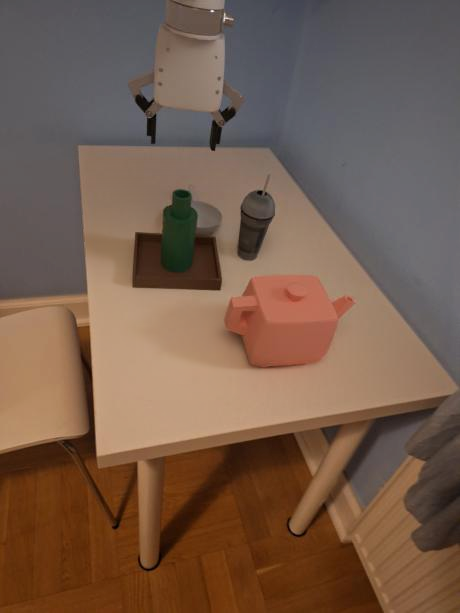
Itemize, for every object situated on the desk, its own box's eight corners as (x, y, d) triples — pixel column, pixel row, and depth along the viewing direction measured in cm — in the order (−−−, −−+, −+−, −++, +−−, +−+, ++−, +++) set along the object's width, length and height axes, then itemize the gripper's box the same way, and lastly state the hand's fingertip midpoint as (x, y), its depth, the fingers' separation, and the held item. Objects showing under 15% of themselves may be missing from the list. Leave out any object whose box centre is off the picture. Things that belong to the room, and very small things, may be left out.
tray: (132, 287, 78) (132, 276, 76) (135, 242, 88) (135, 231, 86) (220, 290, 81) (222, 280, 79) (213, 246, 91) (215, 236, 89)
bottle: (160, 272, 81) (164, 202, 70) (160, 252, 85) (164, 183, 74) (192, 273, 82) (201, 205, 71) (191, 253, 87) (198, 186, 75)
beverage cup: (256, 243, 94) (276, 162, 80) (267, 263, 90) (291, 181, 76) (227, 245, 92) (242, 162, 78) (237, 266, 87) (256, 182, 73)
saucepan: (177, 240, 90) (178, 226, 88) (168, 197, 102) (169, 183, 100) (224, 240, 93) (226, 226, 90) (209, 198, 105) (211, 184, 102)
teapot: (321, 316, 81) (347, 261, 71) (346, 368, 72) (379, 314, 62) (213, 320, 75) (225, 262, 65) (226, 377, 67) (242, 320, 57)
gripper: (252, 24, 59) (231, 140, 71) (129, 1, 55) (129, 128, 67) (261, 37, 53) (237, 160, 65) (125, 14, 50) (127, 148, 62)
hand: (183, 144), depth 66 cm, fingers open, 9 cm apart
